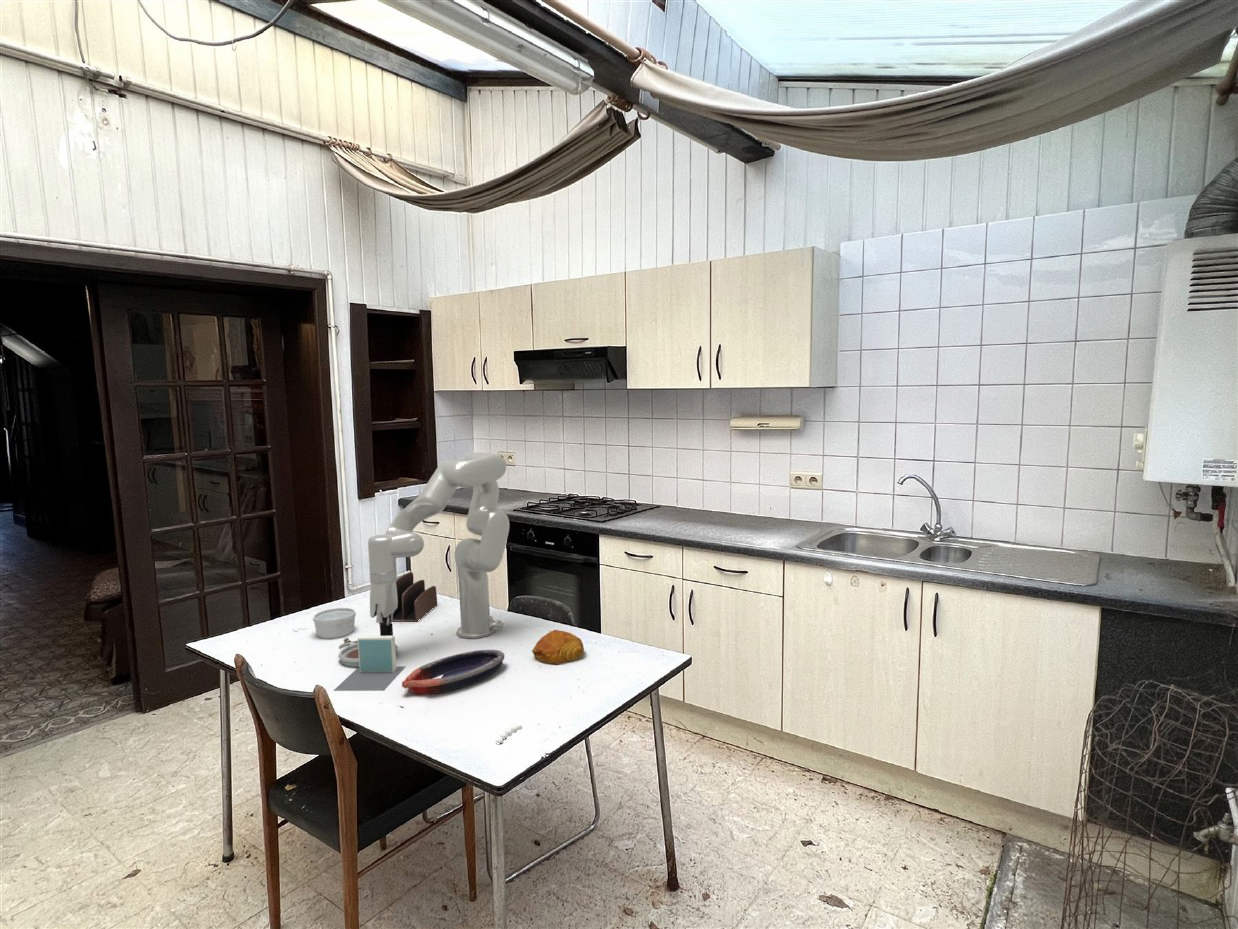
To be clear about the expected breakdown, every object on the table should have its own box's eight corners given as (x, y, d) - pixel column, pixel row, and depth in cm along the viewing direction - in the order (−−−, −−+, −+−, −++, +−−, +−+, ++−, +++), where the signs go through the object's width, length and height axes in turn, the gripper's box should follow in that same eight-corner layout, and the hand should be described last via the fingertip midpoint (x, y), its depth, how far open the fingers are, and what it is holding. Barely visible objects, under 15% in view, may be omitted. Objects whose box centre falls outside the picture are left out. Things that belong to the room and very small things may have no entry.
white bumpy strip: (520, 721, 163) (520, 715, 163) (535, 728, 161) (535, 722, 161) (478, 751, 150) (479, 744, 150) (494, 758, 148) (495, 752, 148)
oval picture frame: (371, 628, 224) (407, 648, 203) (371, 637, 224) (407, 657, 204) (317, 641, 213) (350, 662, 192) (318, 650, 213) (350, 672, 192)
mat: (406, 667, 197) (405, 666, 196) (384, 692, 181) (384, 690, 181) (359, 668, 197) (359, 666, 197) (333, 692, 181) (333, 690, 181)
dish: (517, 672, 192) (516, 656, 191) (414, 707, 172) (412, 688, 171) (490, 657, 203) (489, 641, 203) (390, 688, 184) (389, 670, 183)
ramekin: (365, 630, 229) (363, 610, 228) (330, 643, 218) (328, 622, 217) (340, 624, 236) (339, 605, 236) (306, 636, 225) (304, 616, 225)
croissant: (560, 649, 213) (558, 624, 213) (593, 656, 202) (590, 629, 202) (523, 662, 203) (520, 635, 203) (555, 669, 192) (552, 641, 192)
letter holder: (389, 623, 236) (387, 584, 235) (412, 605, 256) (410, 569, 255) (416, 623, 235) (414, 584, 234) (438, 605, 255) (435, 569, 254)
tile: (396, 669, 195) (394, 635, 194) (393, 672, 192) (391, 638, 191) (362, 669, 195) (360, 635, 194) (359, 672, 193) (356, 638, 192)
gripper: (381, 570, 207) (384, 628, 208) (360, 584, 192) (363, 646, 194) (405, 570, 206) (408, 628, 208) (385, 583, 191) (389, 646, 193)
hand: (386, 637), depth 201 cm, fingers closed
